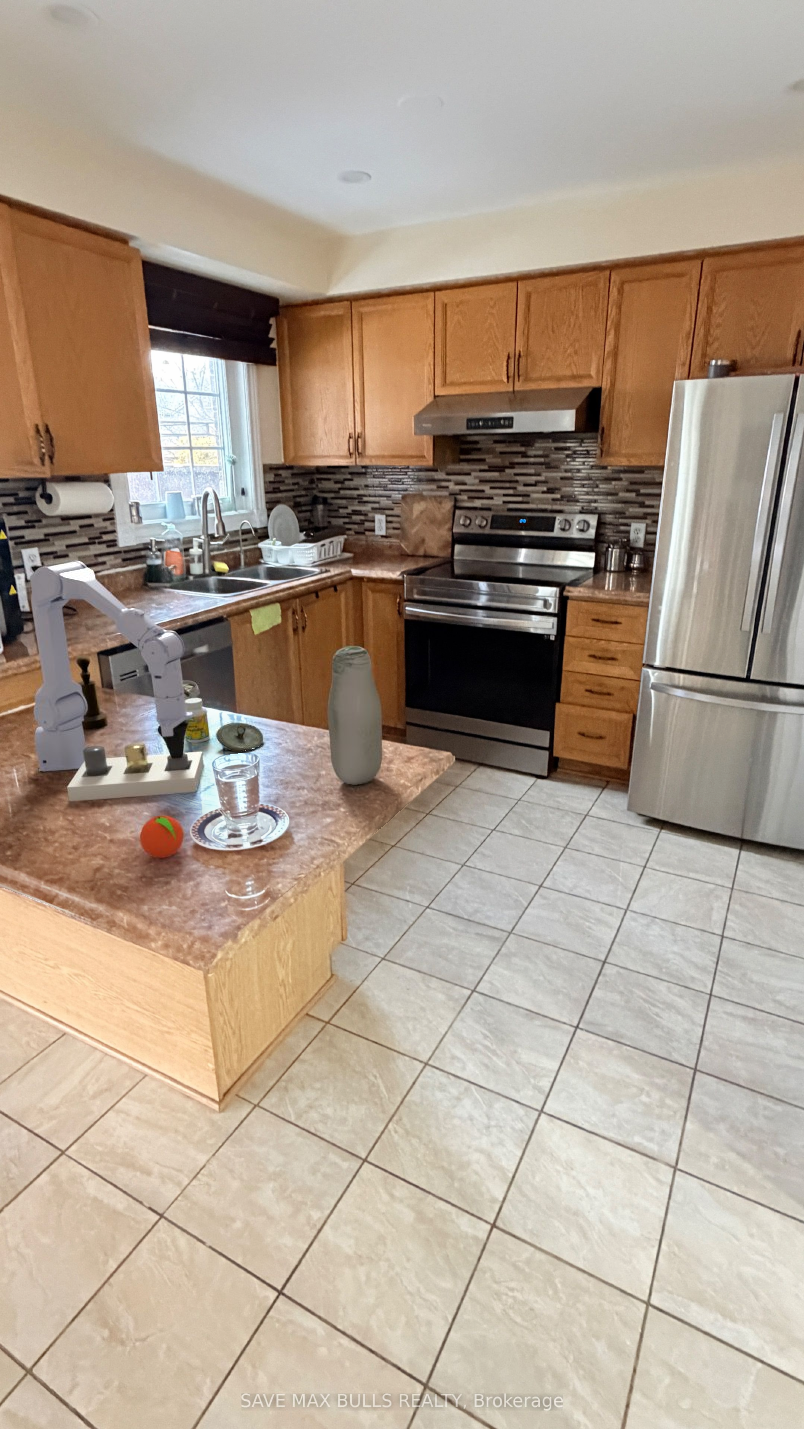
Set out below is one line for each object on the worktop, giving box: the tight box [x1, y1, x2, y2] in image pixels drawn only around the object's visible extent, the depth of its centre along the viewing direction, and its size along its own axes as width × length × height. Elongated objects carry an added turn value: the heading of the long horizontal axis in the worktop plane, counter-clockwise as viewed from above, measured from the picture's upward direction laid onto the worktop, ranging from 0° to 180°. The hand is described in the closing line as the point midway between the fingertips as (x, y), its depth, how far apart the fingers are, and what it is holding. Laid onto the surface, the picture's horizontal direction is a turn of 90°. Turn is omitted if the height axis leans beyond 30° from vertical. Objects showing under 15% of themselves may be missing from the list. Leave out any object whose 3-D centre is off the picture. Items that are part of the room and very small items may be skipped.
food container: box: [182, 679, 200, 700], centre depth 187 cm, size 12×6×10 cm, turn 58°
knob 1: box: [83, 745, 108, 776], centre depth 151 cm, size 4×4×5 cm
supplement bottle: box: [185, 697, 211, 744], centre depth 175 cm, size 5×5×10 cm
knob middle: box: [124, 742, 148, 773], centre depth 152 cm, size 4×4×5 cm
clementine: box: [139, 814, 185, 859], centre depth 124 cm, size 8×7×7 cm
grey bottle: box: [327, 645, 383, 786], centre depth 147 cm, size 10×10×28 cm
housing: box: [66, 751, 205, 802], centre depth 154 cm, size 24×14×3 cm, turn 98°
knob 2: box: [167, 752, 189, 771], centre depth 154 cm, size 4×4×5 cm
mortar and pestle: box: [76, 654, 108, 731], centre depth 184 cm, size 7×6×18 cm
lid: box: [215, 722, 264, 752], centre depth 172 cm, size 11×10×5 cm
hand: (177, 757), depth 153 cm, fingers closed, pressing on knob 2
